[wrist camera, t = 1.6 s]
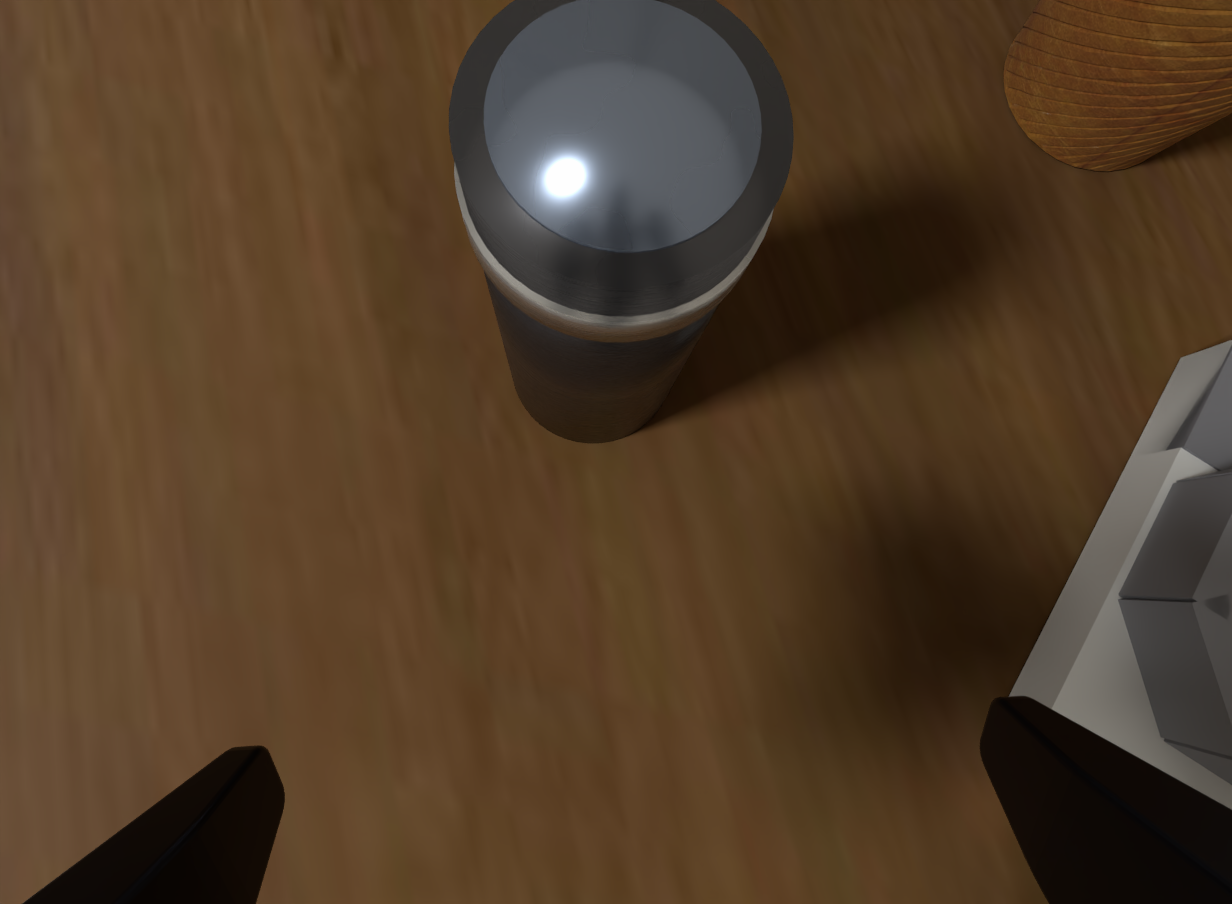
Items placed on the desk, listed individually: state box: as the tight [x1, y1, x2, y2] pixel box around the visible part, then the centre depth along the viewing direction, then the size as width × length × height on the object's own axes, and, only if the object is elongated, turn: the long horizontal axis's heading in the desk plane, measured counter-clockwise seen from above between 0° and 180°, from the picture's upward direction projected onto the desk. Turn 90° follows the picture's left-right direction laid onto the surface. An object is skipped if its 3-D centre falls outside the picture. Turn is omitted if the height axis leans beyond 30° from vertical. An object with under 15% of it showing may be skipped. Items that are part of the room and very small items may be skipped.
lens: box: [449, 0, 793, 443], centre depth 17 cm, size 5×5×13 cm
